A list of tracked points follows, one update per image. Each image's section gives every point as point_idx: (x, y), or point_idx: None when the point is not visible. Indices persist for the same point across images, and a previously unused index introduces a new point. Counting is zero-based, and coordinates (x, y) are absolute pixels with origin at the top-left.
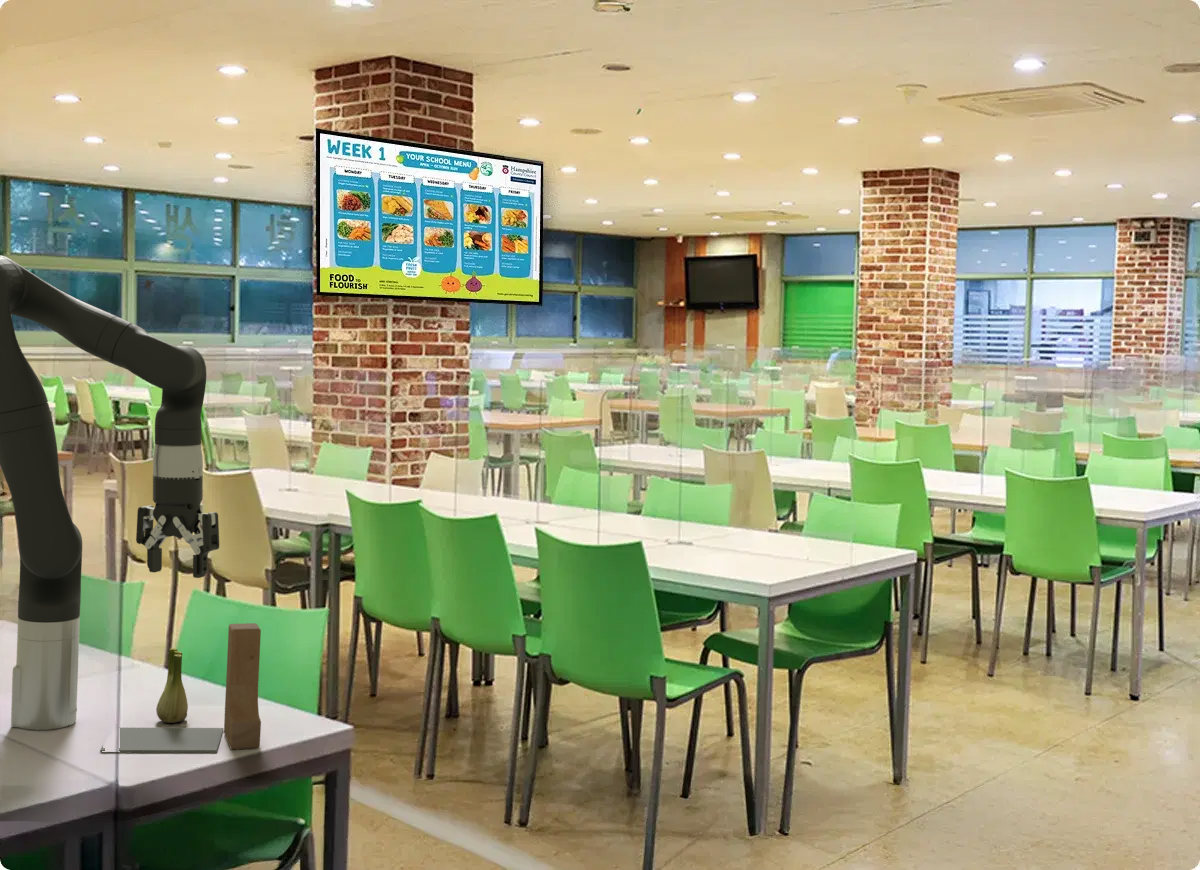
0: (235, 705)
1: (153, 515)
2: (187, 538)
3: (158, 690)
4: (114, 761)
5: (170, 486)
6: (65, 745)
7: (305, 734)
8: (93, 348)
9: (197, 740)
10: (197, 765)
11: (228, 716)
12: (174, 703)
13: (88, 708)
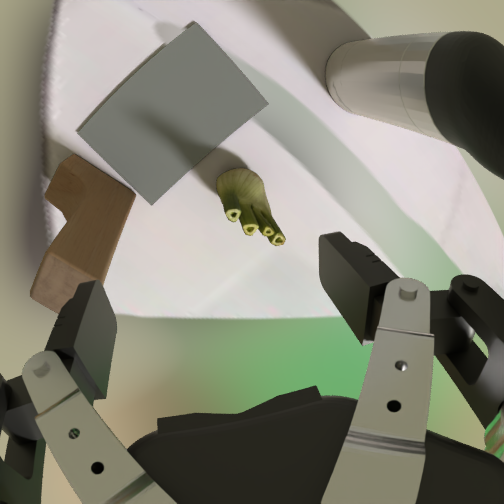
0: (80, 193)
1: (495, 458)
2: (61, 411)
3: None
4: (150, 14)
5: None
6: (261, 18)
7: None
8: None
9: (129, 141)
10: (57, 82)
11: (91, 181)
12: (220, 179)
13: (365, 157)
